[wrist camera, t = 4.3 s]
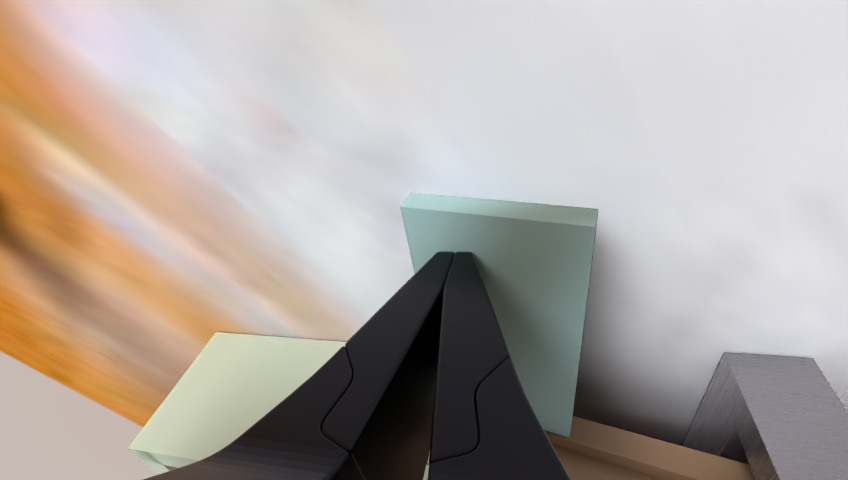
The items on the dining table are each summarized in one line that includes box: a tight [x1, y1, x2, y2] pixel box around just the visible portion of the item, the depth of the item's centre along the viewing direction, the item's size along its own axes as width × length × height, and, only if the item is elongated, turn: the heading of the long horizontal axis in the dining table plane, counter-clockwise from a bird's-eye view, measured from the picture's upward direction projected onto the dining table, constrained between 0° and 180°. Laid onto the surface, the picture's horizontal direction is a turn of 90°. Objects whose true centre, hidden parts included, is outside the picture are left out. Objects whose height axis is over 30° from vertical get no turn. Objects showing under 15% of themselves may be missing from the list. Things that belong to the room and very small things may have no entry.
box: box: [128, 332, 429, 480], centre depth 16 cm, size 9×9×4 cm
